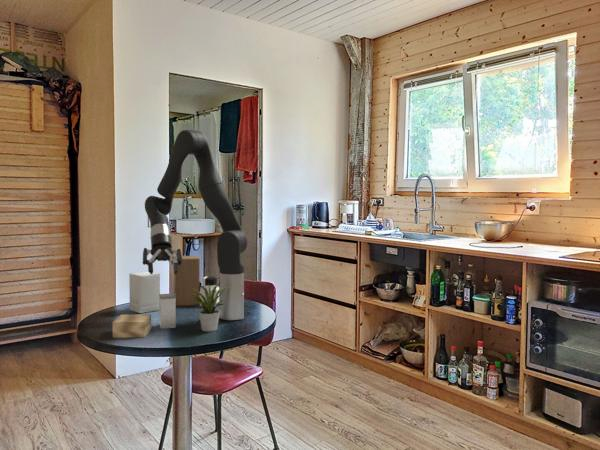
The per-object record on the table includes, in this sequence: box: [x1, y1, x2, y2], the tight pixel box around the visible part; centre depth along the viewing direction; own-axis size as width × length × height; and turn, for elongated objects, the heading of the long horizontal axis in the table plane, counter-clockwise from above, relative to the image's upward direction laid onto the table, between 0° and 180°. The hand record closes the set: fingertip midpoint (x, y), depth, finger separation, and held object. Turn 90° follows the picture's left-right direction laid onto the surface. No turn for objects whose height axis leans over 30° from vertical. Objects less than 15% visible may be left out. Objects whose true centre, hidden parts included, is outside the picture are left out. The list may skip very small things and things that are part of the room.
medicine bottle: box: [199, 275, 219, 307], centre depth 200 cm, size 7×7×12 cm
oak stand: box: [112, 313, 152, 339], centre depth 156 cm, size 10×10×5 cm
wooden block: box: [173, 255, 201, 307], centre depth 201 cm, size 10×10×20 cm
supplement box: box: [128, 271, 161, 314], centre depth 188 cm, size 9×9×15 cm
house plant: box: [192, 283, 229, 332], centre depth 162 cm, size 14×14×16 cm
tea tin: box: [158, 292, 177, 330], centre depth 165 cm, size 5×5×11 cm
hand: (163, 273), depth 174 cm, fingers open, 8 cm apart
